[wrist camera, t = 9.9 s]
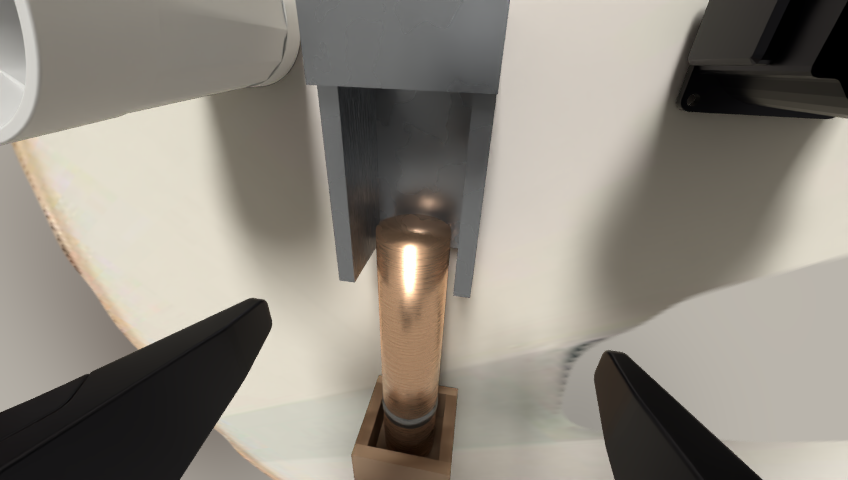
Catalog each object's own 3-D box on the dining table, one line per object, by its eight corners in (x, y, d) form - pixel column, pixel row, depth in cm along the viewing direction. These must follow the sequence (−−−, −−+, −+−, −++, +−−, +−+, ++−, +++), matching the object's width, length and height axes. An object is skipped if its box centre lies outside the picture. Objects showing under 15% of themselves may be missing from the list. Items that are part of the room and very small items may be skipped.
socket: (457, 388, 27) (450, 475, 22) (454, 417, 29) (446, 503, 24) (378, 375, 28) (351, 455, 22) (380, 403, 30) (355, 483, 24)
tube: (386, 210, 19) (363, 243, 15) (455, 217, 18) (447, 253, 15) (391, 408, 28) (378, 457, 25) (437, 417, 28) (430, 468, 24)
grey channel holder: (363, 9, 15) (292, -25, 10) (502, 11, 15) (513, -25, 9) (374, 229, 21) (333, 289, 16) (474, 240, 20) (469, 308, 15)
